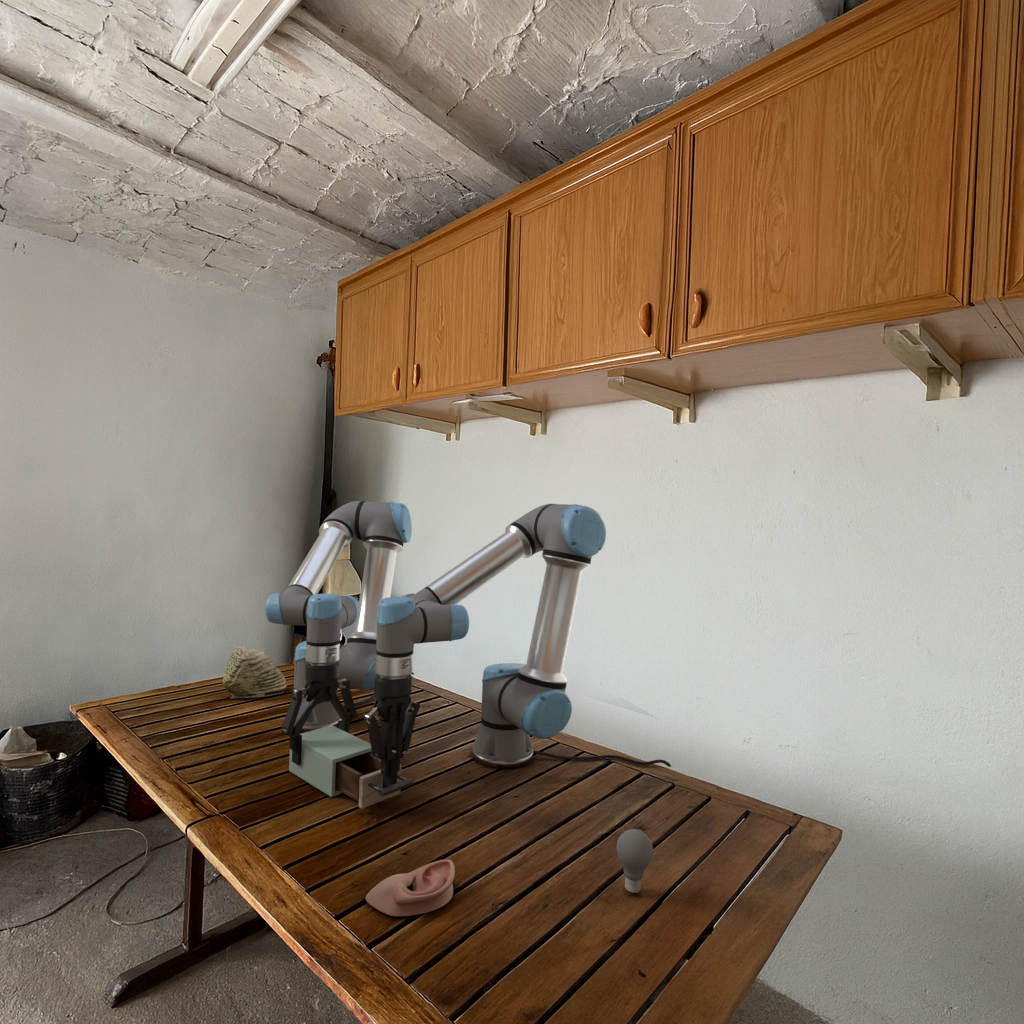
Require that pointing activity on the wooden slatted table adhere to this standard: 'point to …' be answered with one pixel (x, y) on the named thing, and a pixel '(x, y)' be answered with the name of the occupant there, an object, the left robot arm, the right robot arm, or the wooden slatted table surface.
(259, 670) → the fossil
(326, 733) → the cabinet
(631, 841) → the light bulb
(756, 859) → the wooden slatted table surface
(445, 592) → the right robot arm
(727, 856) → the wooden slatted table surface
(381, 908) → the anatomical model
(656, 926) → the wooden slatted table surface
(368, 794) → the drawer
